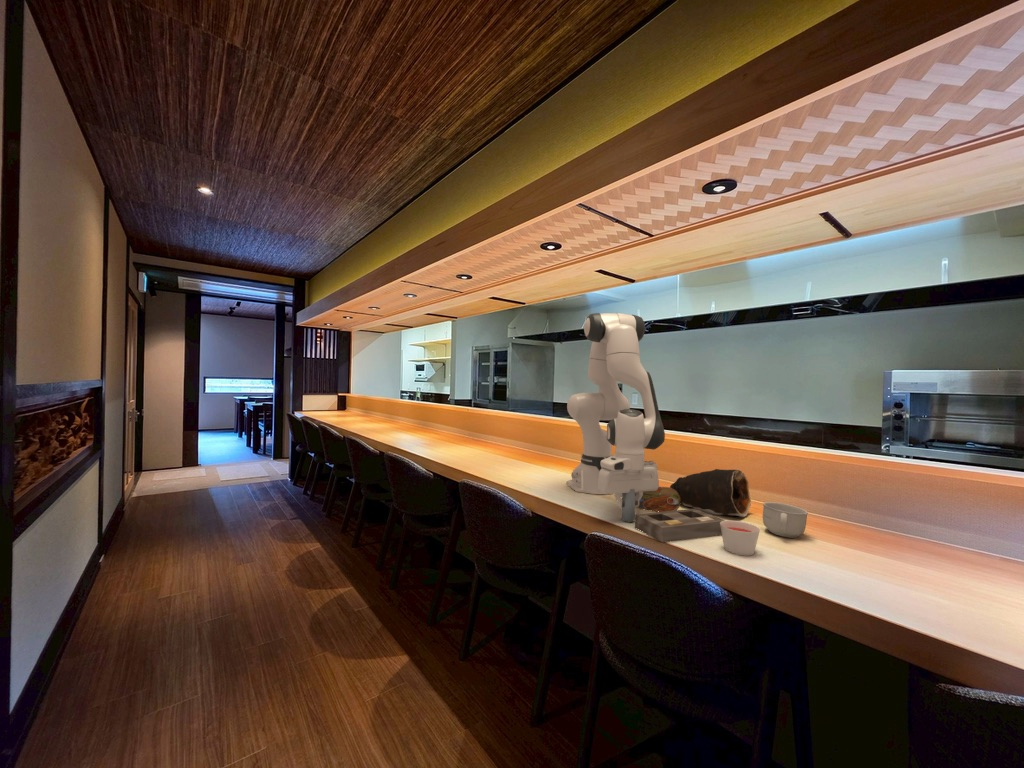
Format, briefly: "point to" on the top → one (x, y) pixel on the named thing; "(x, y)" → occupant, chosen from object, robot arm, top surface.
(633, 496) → the plug
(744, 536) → the candle
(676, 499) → the tin
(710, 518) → the socket block
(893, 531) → the top surface
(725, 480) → the clay pot
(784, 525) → the teacup
